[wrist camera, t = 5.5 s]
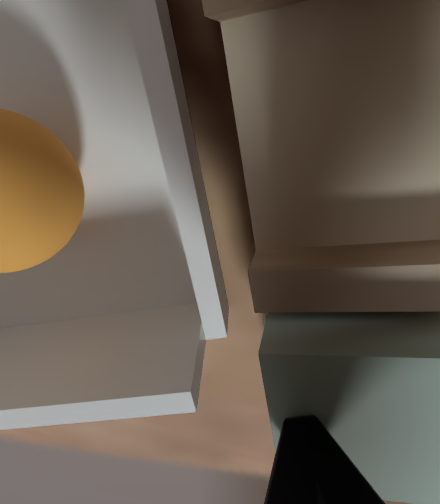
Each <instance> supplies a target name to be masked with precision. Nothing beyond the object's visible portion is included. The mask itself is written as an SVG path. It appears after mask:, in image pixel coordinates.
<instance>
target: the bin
mask: <svg viewBox="0 0 440 504" xmlns="http://www.w3.org/2000/svg"><path fill="white" fill-rule="evenodd" d="M0 109H4V110H9V111H12V112H16V113H19V114H21V115H24V116H26V117H28V118H30V119H33V120H35V121H36V122H38V123H40V124H41V125H43V126H44V127H46V128H47V129H48V130H50V131H51V132H52V133H53V134H54V135H55V136H57V137H58V138H59V139H60V140H61V141H62V142H63V144H64V145H65V146H66V147H67V149H68V150H69V151H70V153H71V154H72V156H73V158H74V159H75V161H76V163H77V165H78V167H79V170H80V173H81V176H82V180H83V185H84V194H85V198H84V209H83V214H82V217H81V220H80V223H79V225H78V227H77V229H76V231H75V233H74V235H73V236H72V237H71V239H70V240H69V242H68V243H67V244H66V245H65V246H64V247H63V248H62V249H61V250H60V251H59V252H57V253H56V254H55V255H54V256H52V257H51V258H49V259H48V260H46V261H44V262H42V263H40V264H38V265H35V266H33V267H31V268H28V269H24V270H20V271H15V272H8V273H0V430H4V429H15V428H26V427H37V426H48V425H59V424H70V423H81V422H92V421H103V420H114V419H125V418H136V417H147V416H158V415H169V414H180V413H191V412H196V411H197V404H198V396H199V389H200V381H201V374H202V366H203V359H204V351H205V344H206V340H208V339H216V338H225V337H227V331H228V312H229V306H228V301H227V296H226V291H225V286H224V281H223V276H222V271H221V267H220V262H219V257H218V252H217V247H216V242H215V237H214V232H213V227H212V222H211V217H210V212H209V207H208V203H207V198H206V193H205V188H204V183H203V178H202V173H201V168H200V163H199V158H198V153H197V148H196V143H195V139H194V134H193V129H192V124H191V119H190V114H189V109H188V104H187V99H186V94H185V89H184V84H183V80H182V75H181V70H180V65H179V60H178V55H177V50H176V45H175V40H174V35H173V30H172V25H171V20H170V16H169V11H168V6H167V1H166V0H0Z"/></svg>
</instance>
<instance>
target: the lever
mask: <svg viewBox="0 0 440 504" xmlns="http://www.w3.org/2000/svg"><path fill="white" fill-rule="evenodd" d="M202 5H203V11H204V16H205V17H208V18H210V19H213V20H216V21H219V22H220V24H221V30H222V37H223V43H224V50H225V56H226V62H227V69H228V75H229V82H230V88H231V94H232V101H233V107H234V114H235V120H236V126H237V133H238V139H239V146H240V152H241V159H242V165H243V171H244V178H245V184H246V191H247V197H248V203H249V210H250V216H251V223H252V229H253V235H254V242H255V248H256V251H255V254H254V257H253V259H252V262H251V265H250V267H249V270H248V275H249V281H250V287H251V293H252V299H253V305H254V311H255V313H266V323H265V327H264V331H263V336H262V340H261V344H260V349H259V353H258V354H259V360H260V366H261V372H262V377H263V383H264V389H265V394H266V400H267V406H268V412H269V417H270V423H271V429H272V434H273V440H274V446H275V452H276V450H277V445H278V441H279V437H280V432H281V428H282V424H283V421H284V419H285V418H289V417H297V416H305V415H315V416H316V417H317V418H318V419H319V420H320V421H321V423H322V424H323V425H324V426H325V428H326V429H327V430H328V432H329V433H330V434H331V435H332V437H333V438H334V439H335V440H336V442H337V443H338V444H339V445H340V447H341V448H342V449H343V451H344V452H345V453H346V454H347V456H348V457H349V458H350V459H351V461H352V462H353V463H354V464H355V466H356V467H357V468H358V470H359V471H360V472H361V473H362V475H363V476H364V477H365V478H366V480H367V481H368V482H369V483H370V485H371V486H372V487H373V489H374V490H375V491H376V492H377V494H378V495H379V496H380V497H381V499H382V500H388V501H395V502H403V503H410V504H440V0H202Z"/></svg>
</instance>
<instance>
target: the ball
mask: <svg viewBox="0 0 440 504" xmlns="http://www.w3.org/2000/svg"><path fill="white" fill-rule="evenodd" d="M84 198H85V194H84V185H83V180H82V176H81V173H80V170H79V167H78V165H77V163H76V161H75V159H74V158H73V156H72V154H71V153H70V151H69V150H68V149H67V147H66V146H65V145H64V144H63V142H62V141H61V140H60V139H59V138H58V137H57V136H55V135H54V134H53V133H52V132H51V131H50V130H48V129H47V128H46V127H44V126H43V125H41V124H40V123H38V122H36V121H35V120H33V119H30V118H28V117H26V116H24V115H21V114H19V113H16V112H12V111H9V110H4V109H0V273H8V272H15V271H20V270H24V269H28V268H31V267H33V266H35V265H38V264H40V263H42V262H44V261H46V260H48V259H49V258H51V257H52V256H54V255H55V254H56V253H57V252H59V251H60V250H61V249H62V248H63V247H64V246H65V245H66V244H67V243H68V242H69V240H70V239H71V237H72V236H73V235H74V233H75V231H76V229H77V227H78V225H79V223H80V220H81V217H82V214H83V209H84Z"/></svg>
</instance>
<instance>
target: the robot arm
mask: <svg viewBox="0 0 440 504" xmlns="http://www.w3.org/2000/svg"><path fill="white" fill-rule="evenodd" d="M264 504H385V503H384V501H383V500H382V499H381V497H380V496H379V495H378V494H377V492H376V491H375V490H374V489H373V487H372V486H371V485H370V483H369V482H368V481H367V480H366V478H365V477H364V476H363V475H362V473H361V472H360V471H359V470H358V468H357V467H356V466H355V464H354V463H353V462H352V461H351V459H350V458H349V457H348V456H347V454H346V453H345V452H344V451H343V449H342V448H341V447H340V445H339V444H338V443H337V442H336V440H335V439H334V438H333V437H332V435H331V434H330V433H329V432H328V430H327V429H326V428H325V426H324V425H323V424H322V423H321V421H320V420H319V419H318V418H317V417H316V416H315V415H305V416H297V417H289V418H285V419H284V421H283V424H282V428H281V432H280V437H279V441H278V445H277V450H276V454H275V458H274V463H273V467H272V471H271V476H270V480H269V484H268V489H267V493H266V497H265V502H264Z"/></svg>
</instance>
